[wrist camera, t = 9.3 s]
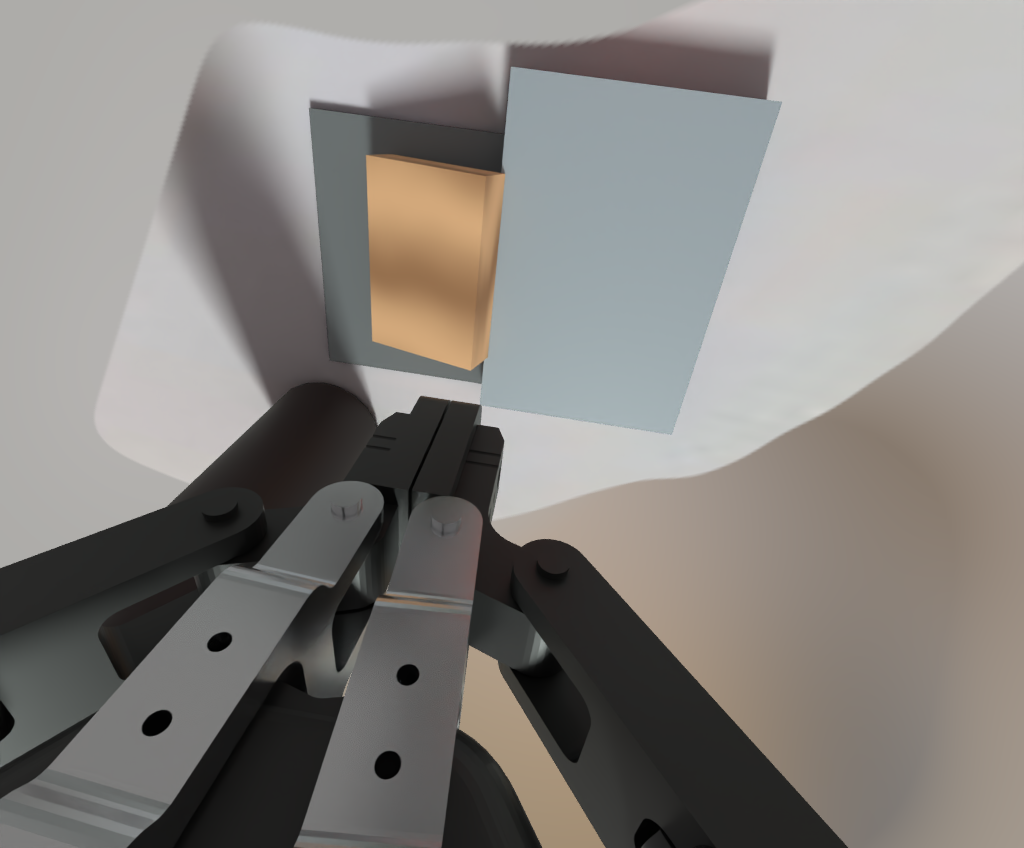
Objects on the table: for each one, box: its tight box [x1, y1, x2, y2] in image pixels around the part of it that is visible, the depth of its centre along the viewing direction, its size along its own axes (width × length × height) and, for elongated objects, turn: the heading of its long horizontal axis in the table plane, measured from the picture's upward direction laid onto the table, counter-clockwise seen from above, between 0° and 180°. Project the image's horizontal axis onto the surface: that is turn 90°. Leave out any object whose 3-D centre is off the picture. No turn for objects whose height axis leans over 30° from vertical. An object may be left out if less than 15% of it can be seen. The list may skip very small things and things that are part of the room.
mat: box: [309, 108, 505, 384], centre depth 27 cm, size 13×9×1 cm
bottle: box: [101, 383, 377, 627], centre depth 25 cm, size 7×7×20 cm
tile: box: [366, 154, 505, 371], centre depth 25 cm, size 9×6×2 cm, turn 174°
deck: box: [480, 67, 782, 435], centre depth 26 cm, size 16×11×2 cm
